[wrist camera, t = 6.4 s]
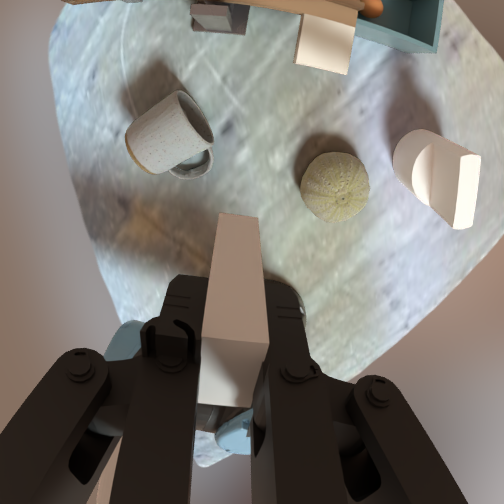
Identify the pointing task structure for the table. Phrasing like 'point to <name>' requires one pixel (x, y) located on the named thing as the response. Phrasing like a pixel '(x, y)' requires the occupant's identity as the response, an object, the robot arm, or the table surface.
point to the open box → (404, 25)
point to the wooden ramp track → (312, 29)
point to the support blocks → (217, 16)
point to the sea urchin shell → (335, 186)
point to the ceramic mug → (170, 137)
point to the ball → (372, 8)
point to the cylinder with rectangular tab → (439, 175)
